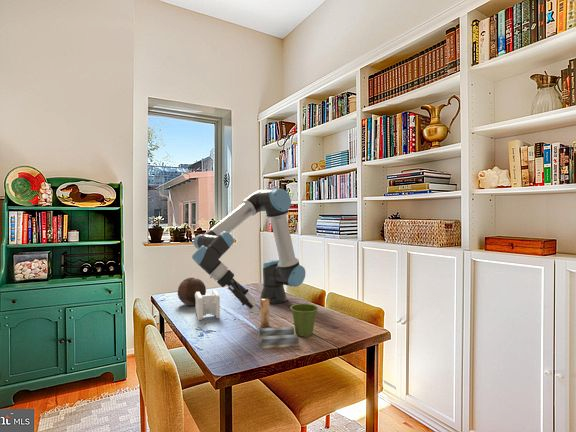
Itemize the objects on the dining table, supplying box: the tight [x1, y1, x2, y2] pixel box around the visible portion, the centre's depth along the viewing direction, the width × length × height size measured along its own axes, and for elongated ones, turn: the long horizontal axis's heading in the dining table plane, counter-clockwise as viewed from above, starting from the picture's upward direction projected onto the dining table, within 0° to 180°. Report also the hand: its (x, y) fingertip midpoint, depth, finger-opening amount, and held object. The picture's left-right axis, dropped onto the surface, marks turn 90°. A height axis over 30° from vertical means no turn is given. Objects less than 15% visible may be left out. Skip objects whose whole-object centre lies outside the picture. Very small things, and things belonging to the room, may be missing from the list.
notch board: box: [258, 326, 299, 350], centre depth 138 cm, size 14×12×4 cm
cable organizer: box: [195, 289, 221, 321], centre depth 171 cm, size 15×11×12 cm
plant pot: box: [289, 303, 319, 338], centre depth 146 cm, size 12×12×11 cm
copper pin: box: [259, 298, 270, 328], centre depth 156 cm, size 4×4×12 cm
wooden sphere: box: [177, 277, 207, 306], centre depth 191 cm, size 15×15×15 cm
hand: (256, 307), depth 155 cm, fingers open, 13 cm apart
